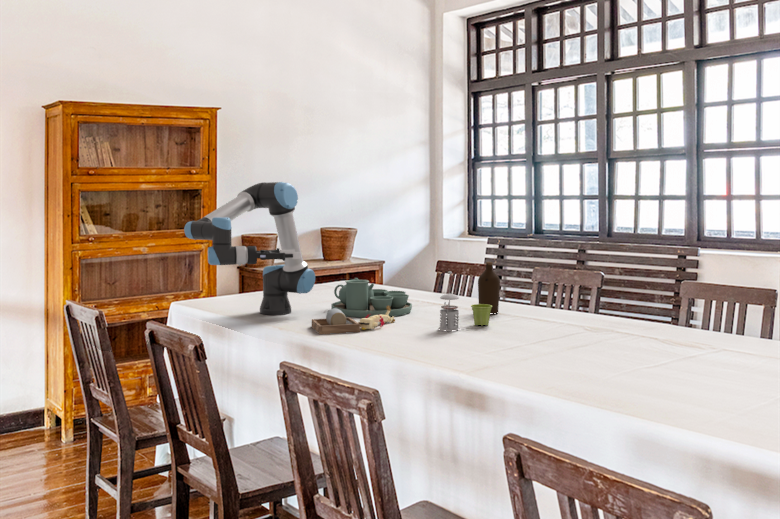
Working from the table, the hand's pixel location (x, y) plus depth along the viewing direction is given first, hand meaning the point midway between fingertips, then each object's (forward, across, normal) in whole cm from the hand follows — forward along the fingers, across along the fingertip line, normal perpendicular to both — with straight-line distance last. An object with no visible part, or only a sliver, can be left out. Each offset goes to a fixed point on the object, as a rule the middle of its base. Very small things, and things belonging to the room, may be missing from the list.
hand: (297, 254), depth 289 cm
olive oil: (+96, -14, -32) cm, 102 cm away
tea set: (+43, -36, -33) cm, 65 cm away
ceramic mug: (+16, +6, -31) cm, 36 cm away
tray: (+15, +6, -32) cm, 36 cm away
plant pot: (+79, +14, -32) cm, 86 cm away
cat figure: (+34, +4, -32) cm, 47 cm away
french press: (+61, +20, -32) cm, 72 cm away
